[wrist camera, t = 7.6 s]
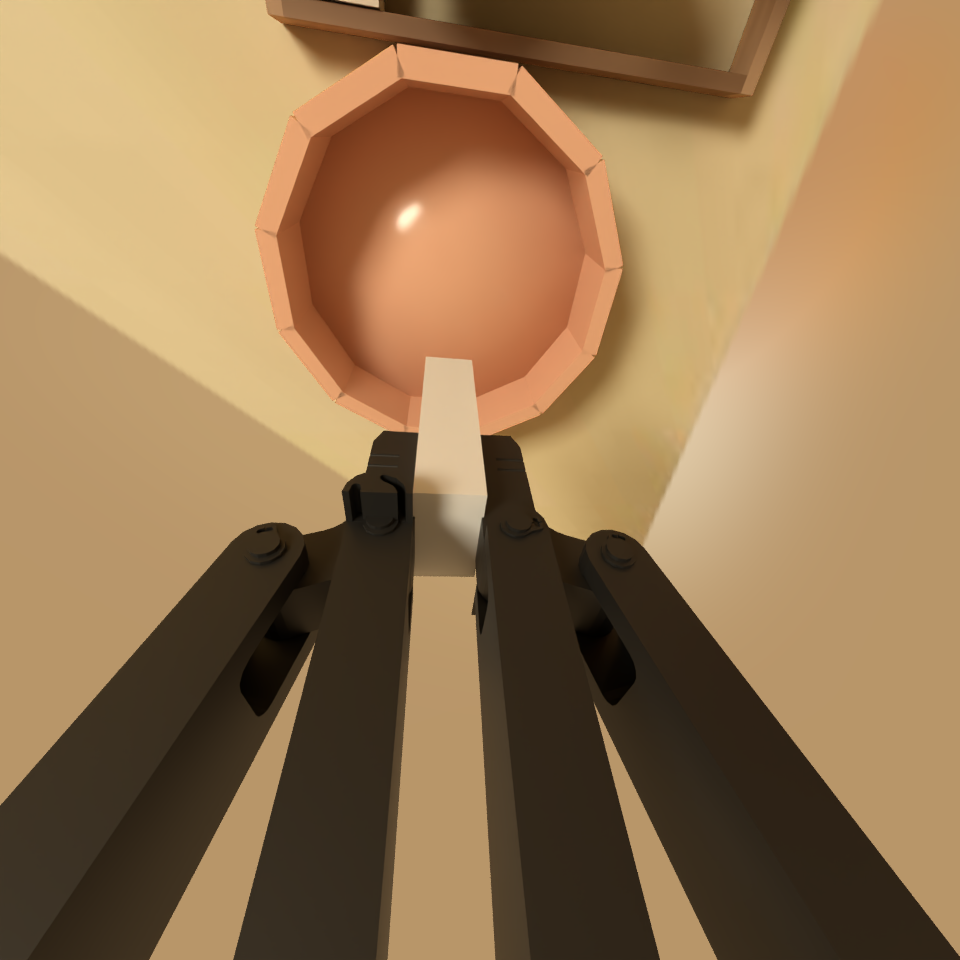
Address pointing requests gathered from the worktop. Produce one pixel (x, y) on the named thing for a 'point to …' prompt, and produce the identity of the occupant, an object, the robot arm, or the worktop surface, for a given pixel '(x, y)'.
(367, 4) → the cream cuboid block
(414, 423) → the bowl
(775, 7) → the tray
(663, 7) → the worktop surface
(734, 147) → the worktop surface
